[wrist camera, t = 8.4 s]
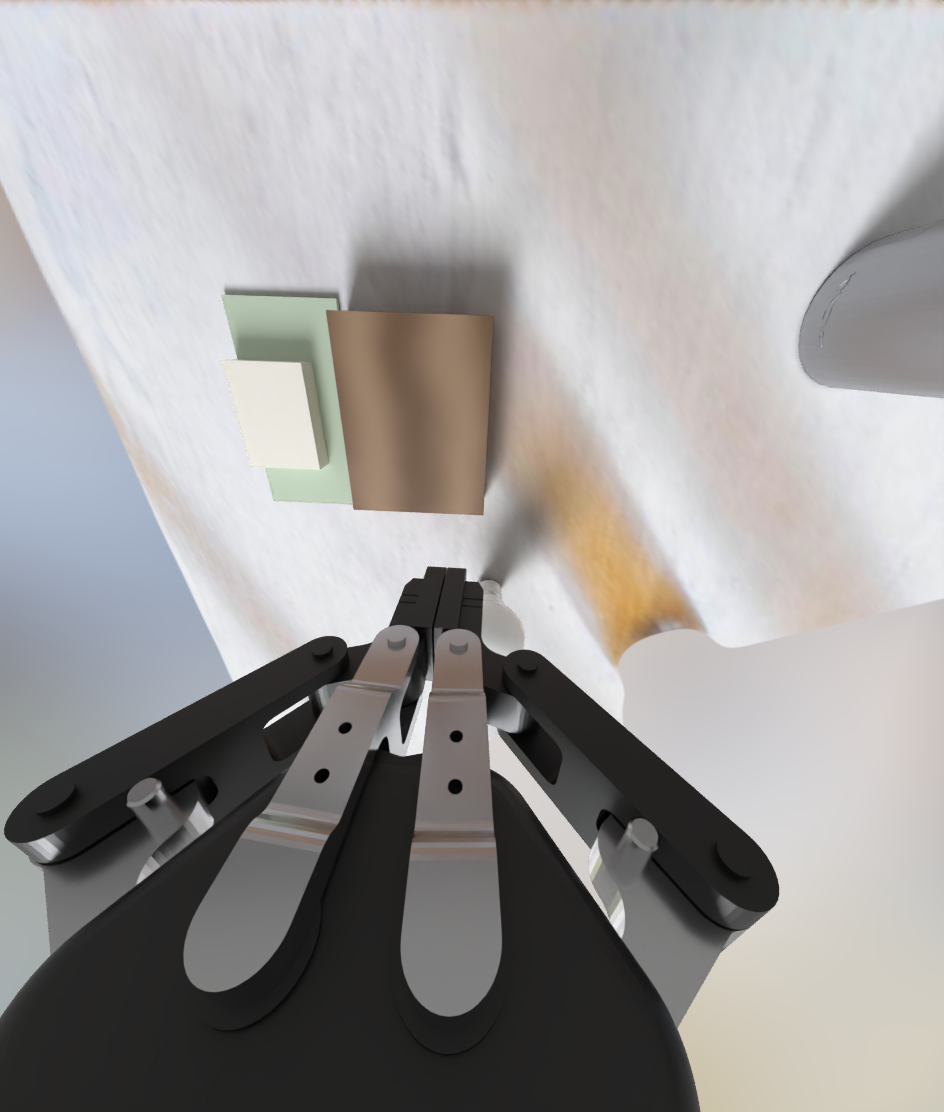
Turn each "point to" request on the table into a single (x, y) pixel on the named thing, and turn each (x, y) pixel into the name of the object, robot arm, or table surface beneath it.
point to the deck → (413, 408)
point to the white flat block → (277, 413)
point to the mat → (304, 337)
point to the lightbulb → (500, 622)
